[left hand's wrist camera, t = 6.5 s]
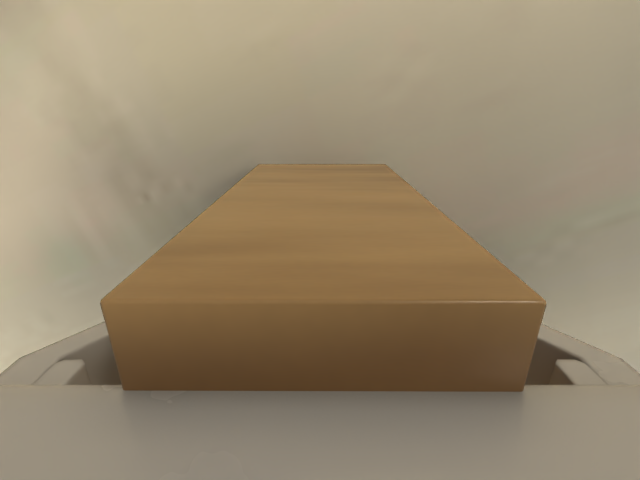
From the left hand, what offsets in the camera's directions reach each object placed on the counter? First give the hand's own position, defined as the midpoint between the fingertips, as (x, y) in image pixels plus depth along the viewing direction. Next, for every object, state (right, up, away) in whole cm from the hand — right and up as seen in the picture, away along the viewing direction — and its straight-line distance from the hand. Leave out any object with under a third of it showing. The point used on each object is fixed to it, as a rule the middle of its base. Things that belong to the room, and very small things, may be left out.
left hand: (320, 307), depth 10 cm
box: (0, -7, +10) cm, 12 cm away
